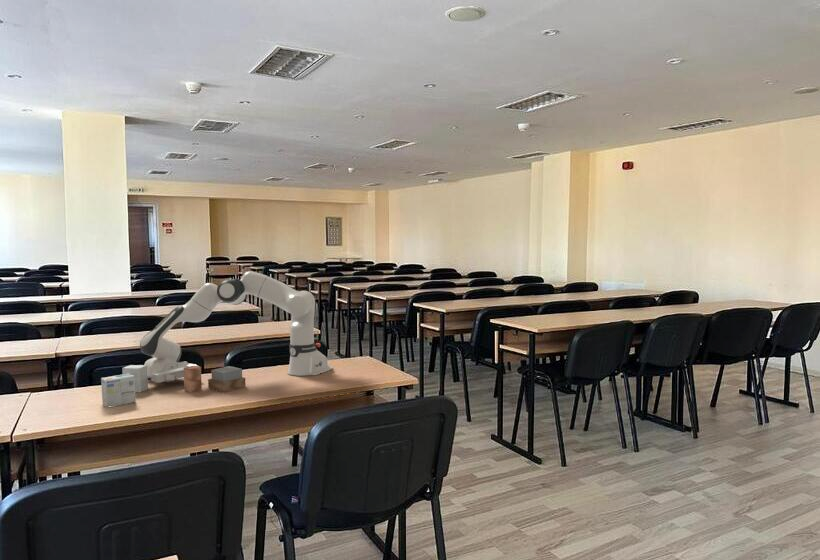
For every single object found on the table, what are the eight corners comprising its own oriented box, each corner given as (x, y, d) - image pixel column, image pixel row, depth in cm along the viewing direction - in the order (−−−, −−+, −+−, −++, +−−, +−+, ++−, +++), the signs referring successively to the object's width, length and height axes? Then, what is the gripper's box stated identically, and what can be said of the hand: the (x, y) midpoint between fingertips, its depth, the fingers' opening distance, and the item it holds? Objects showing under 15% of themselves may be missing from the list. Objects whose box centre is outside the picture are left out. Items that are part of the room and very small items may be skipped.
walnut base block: (230, 384, 247) (230, 374, 247) (245, 388, 240) (245, 377, 240) (208, 389, 238) (208, 379, 238) (223, 393, 232) (223, 383, 231)
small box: (148, 389, 237) (147, 365, 237) (140, 392, 232) (139, 368, 231) (130, 388, 238) (129, 364, 237) (122, 392, 233) (121, 367, 232)
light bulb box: (130, 398, 223) (129, 372, 222) (136, 402, 218) (135, 375, 217) (101, 404, 216) (100, 377, 215) (106, 408, 211) (105, 380, 210)
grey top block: (229, 374, 245) (228, 366, 245) (242, 377, 240) (242, 368, 240) (211, 379, 238) (211, 370, 238) (224, 382, 233) (224, 372, 233)
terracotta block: (195, 388, 239) (194, 365, 238) (201, 389, 236) (200, 366, 235) (184, 390, 235) (183, 367, 234) (190, 392, 232) (190, 369, 231)
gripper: (145, 369, 239) (161, 373, 230) (188, 360, 255) (205, 364, 247) (145, 383, 239) (162, 388, 231) (189, 373, 255) (206, 378, 247)
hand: (185, 375), depth 239 cm, fingers open, 8 cm apart
